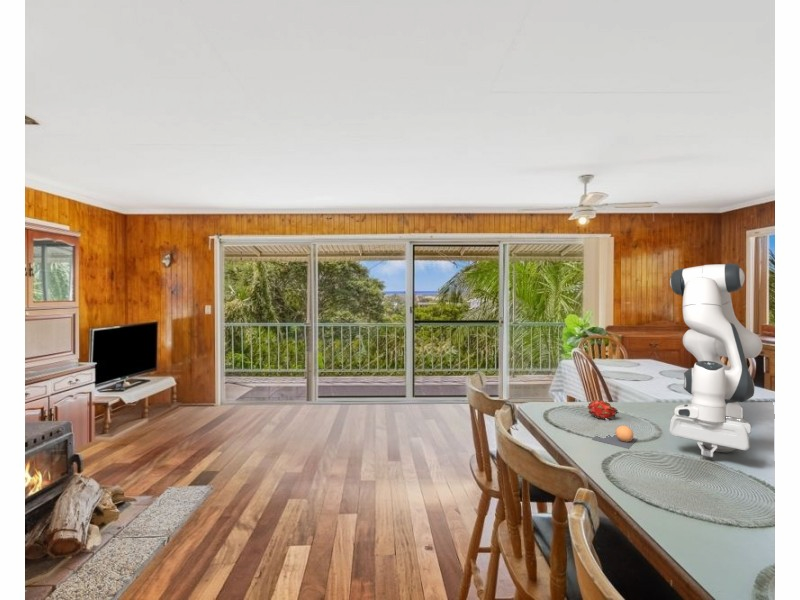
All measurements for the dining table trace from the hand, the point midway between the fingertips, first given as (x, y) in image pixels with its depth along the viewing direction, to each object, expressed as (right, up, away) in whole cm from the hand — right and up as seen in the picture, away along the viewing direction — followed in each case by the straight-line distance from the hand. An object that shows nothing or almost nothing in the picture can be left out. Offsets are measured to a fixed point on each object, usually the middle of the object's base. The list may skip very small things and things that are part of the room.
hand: (707, 455), depth 128 cm
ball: (-17, +2, +16) cm, 24 cm away
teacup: (+12, -2, +10) cm, 16 cm away
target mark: (-20, -1, +18) cm, 27 cm away
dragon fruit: (-12, -1, +43) cm, 44 cm away
